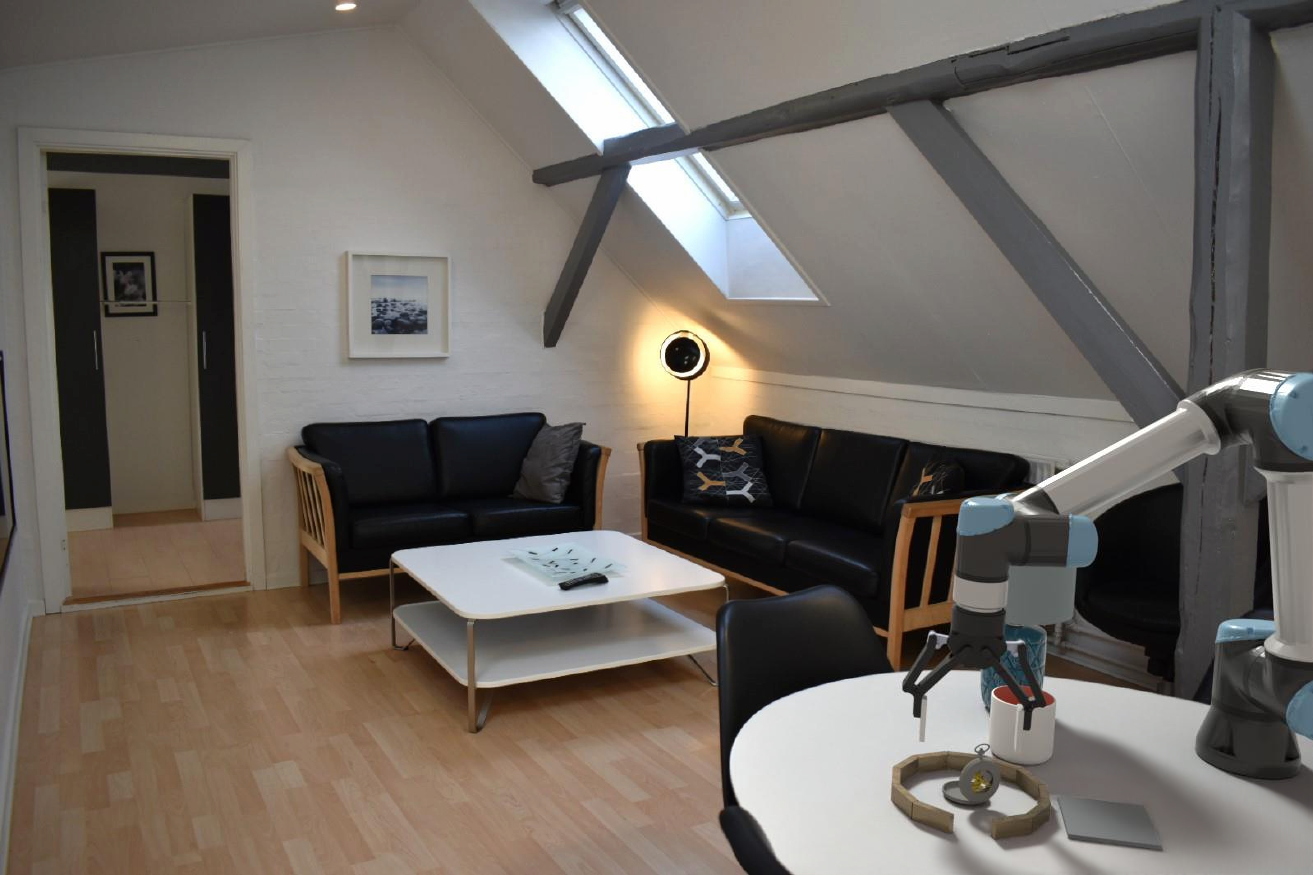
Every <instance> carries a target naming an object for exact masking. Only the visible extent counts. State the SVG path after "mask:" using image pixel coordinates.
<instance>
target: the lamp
mask: <svg viewBox="0 0 1313 875" xmlns="http://www.w3.org/2000/svg"><path fill="white" fill-rule="evenodd" d="M999 495H1000V494H991V495H990V494H988V495H980V496H978V495H977V496H973V497H972V498H991V499H993V498H996V497H997V496H999ZM1076 580H1077V567H1073V568H1068V569H1065V568H1061V567H1029V566H1010V569H1009V580H1008V594H1007V605H1006V606H1005V607H1003V608H1004V609H1005V610H1006V620H1005V633H1004V639H1005V641H1017V640H1018V639H1023V640H1024V641H1025V644H1026V648H1027V659H1028V661H1029V663H1030V665H1031V668H1032V670H1033V672H1034V674H1035V677H1036V679H1037V681H1038V684H1039V686H1040V688H1041V690H1043V687H1044V680H1045V672H1046V659H1047V658H1046V656H1047V641H1048V640H1047V639H1048V636H1047V631H1046V630H1045V629H1044V628H1043V627H1042V626H1044V625H1045V626H1046V625H1048V626H1049V625H1055V624H1056V625H1058V624H1061V623H1065V622H1067V621H1070V620H1071V619H1073V617H1074V610H1075V608H1074V607H1075V593H1076ZM1000 659H1001V660H1002V662H1003V663H1004V665H1005V666H1006V667H1007V669H1008V670H1009V671H1010V673H1011V674H1012V675H1013V677H1014V678H1015V679H1016V680H1017V682H1018V683H1019V684H1020V686H1027V687H1030V686H1029V684H1028V681H1027V679H1026V677H1025V675H1024V672H1023V670H1022V668H1021V666H1020V663H1019V660H1018V657H1014V656H1013V655H1012V653H1011V651H1009V650H1006V652H1005V653H1004V654H1003V655H1002V656H1001V657H1000ZM1000 686H1006V684H1005V682H1004V681H1003V680H1002V678H1001V677H1000V676H999V675H998V674H997V673H996V671H995V670H994V669H993V667H990V668H987V669H986V670H983V669H980V693H981V694H980V695H981V700H982V702H983V704H984V705H985V707H986V708H987V709H989V710H991V693H992V691H993V690H994V689H995V688H997V687H1000Z"/></svg>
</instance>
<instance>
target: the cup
mask: <svg viewBox="0 0 1313 875" xmlns="http://www.w3.org/2000/svg"><path fill="white" fill-rule="evenodd" d="M1021 687H1022V688H1023V690H1024V691H1025V692H1026V693H1027V695H1028V696H1029V697H1034V695H1033V693H1032V691H1031V688H1030V687H1027V686H1021ZM1042 693H1043V695H1044V697H1045V700H1046V707H1044V708H1040V707H1039V708H1035V709H1034V710H1033V711H1032V720H1031V728H1030V730H1029V731H1026V730H1023V734H1022V747H1021V754H1017V753H1015V749H1014V738H1015V725H1016V713H1017V704H1021V703H1020V702H1019V700H1018V699H1017V698H1016V697H1015V695H1014V694H1013V693H1012V691H1011V690H1010V689H1009V687H1008V686H1007V685H1006V686H1000V687H997V688H995V689H994V690H993V691H992V693H991V710H990V709H989V710H990V712H989V725H988V726H989V729H988V731H989V732H988V744H989V745H990V748H989V750H990V751H991V752H992V753H993V754H995V756H997V757H998V758H1000V759H1001V760H1003V761H1005V762H1008V763H1012V764H1016V765H1018V764H1019V765H1025V766H1027V765H1032V766H1033V765H1040V764H1043V763H1045V762H1048V761H1049V760H1050V759H1051V757H1052V756H1053V752H1054V739H1055V728H1056V727H1055V726H1056V724H1055V723H1056V710H1057V709H1056V708H1057V699H1056V698H1055V697H1054V695H1053V694H1051V693H1049V692H1047V691H1045V690H1043V689H1042Z"/></svg>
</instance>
